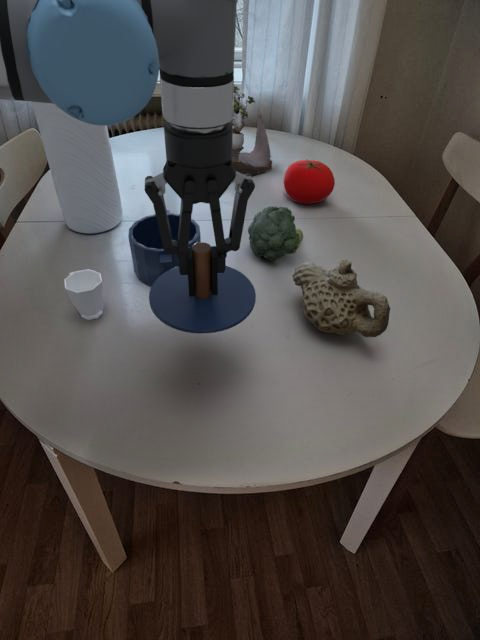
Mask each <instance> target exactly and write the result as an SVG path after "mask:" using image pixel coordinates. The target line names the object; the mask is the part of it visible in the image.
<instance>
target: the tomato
mask: <svg viewBox="0 0 480 640" xmlns="http://www.w3.org/2000/svg"><path fill="white" fill-rule="evenodd" d="M335 185H336V181H335V176H334V173H333V171H332V170H331V168H330V167H329V166H328V165H327V164H325V163H323V162H321V161H319V160H315V159H314V160H313V159H301V160H297V161H294V162H292V163H290V165H289V166H288V167H287V169H286V171H285V173H284V176H283V188H284V191H285V194H286V195H287V196H288V197H289V198H290V200H292V201H293V202H295V203H298V204H303V205H310V204H317V203H320V202H322V201H323V200H325V199H327V198H328V197H329V196H330V195H331V194H332V192H333V191H334V188H335Z"/></svg>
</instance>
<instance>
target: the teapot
mask: <svg viewBox="0 0 480 640" xmlns="http://www.w3.org/2000/svg"><path fill="white" fill-rule="evenodd" d="M352 264H353V263H352V261H349V260H348V259H345V258H344V259H340V261H339V265H336V266H334V267H330V268H329V270H327V269H324V268H323V267H322V266H320V265H317V264H315V263H314V262H312V261H306V262H302V263H300V264H299V265H298V266H297V267H295V268H294V272H293V274H292V279H293V280H292V281H293V283H294V285H295V286H297V287H300V288H301V308H302V309H303V313H304V315H305V317H306V318H307V320H309V321H310V322H311V323H312V324H313V326H315V327H316V329H318V330H319V331H320V332H323V333H328V334H329V333H330V334H337V335H342V336H343V335H346V334H349V333H354V332H357V333H359V334H360V335H361V336H362V337H365V338H377V337H378V336H381V335H382V334H383V333H385V331H386V330H387V329H388V326H389V323H390V313H391V307H390V304H389V301H388V298H387V296H386V295H384V294H383V293H382V292H380V291H372V290H367V289H366V288H365V289H364V288H362V287H361V286H360V285H359V284H358V280H357V277H358V274H357V272H356V271H355V270H354V269H353V268H352ZM369 306H371V307H372V308H373V316H372V314H371V312H370V309H369Z"/></svg>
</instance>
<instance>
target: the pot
mask: <svg viewBox="0 0 480 640" xmlns="http://www.w3.org/2000/svg"><path fill="white" fill-rule="evenodd" d="M166 210H167V215H168V220H169V225H170V230H171V234H172V239H173V240H175V241H178V232H179V220H180V213H173V212H171V211H170V209H166ZM128 242H129V243H128V244H129V249H130V254H131V259H132V266H133V271H134V274H135V276H136V278H137V279H138V280H139V281H140V282H141V283H142V284H144V285H146V286H148V287H150V288H151V287H152V285H153V283H154V282H155V281H156V280H157V279H158V278H159V277H160V276H161V275H162V274H164V273H165V272H167V271H169V270H171V269H173V268H175V267H178V266H179V260H178V256H177V255H175V254H170V255H168V254H165V252H164V249H163V245H162V241H161V236H160V232H159V228H158V223H157V219H156V214H155V213H153V214H151V215H150V214H149V215H146V216H144V217H142V218H140V219H138V220H136V221H134V222H133V223H132V224H131V226H130V227H129V228H128ZM199 242H202V241H201V229H200V225H199V224H198V223H197V222H196V220H194V218H191V224H190V234H189V243H188V247H192V246H193V245H194V244H196V243H199Z"/></svg>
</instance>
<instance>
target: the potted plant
mask: <svg viewBox="0 0 480 640" xmlns="http://www.w3.org/2000/svg"><path fill="white" fill-rule="evenodd" d="M238 91H240V88H239V87H238V86H237V85H236V86H235V85H234V105H233V119H232V120H231V121H230V122H232V126H233V142H232V163H233V165H234V167H235V170H236V171H237V172H239V173H241V174H246V173H249V174H251V176H252V177H253V176H254V175H256V174H261V173H266V172H267V171H270V170H272V169H273V161H272V160H271V148H270V142H269V137H268V135H267V130H266V127H265V124H264V120H263V117H262V115H261V114H259V115H258V118H257V125H256V132H255V141H254V147H253V149H252V151H250V152H242V151H243V150H244V149H245V147H244V146H243V145H244V143H245V134H244V133H242V131H243V129H244V128H245V126H246V121H245V120H246V118H247V119H248V118H249V114H248V113H249V112H248V111H247V107H248V104H249V105H251V104H253V103H255V104H256V101H255V100H254V98H255V97H253V96H249V95H248V96H247V99H245V104H244V103H242V102H241V101H240V99H244V98H245V97H246V95H245V93H243V92H242V93H241V92H240V94H241V96H238V95H239V92H238ZM235 111H239V112H238V113H236V112H235Z"/></svg>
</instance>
